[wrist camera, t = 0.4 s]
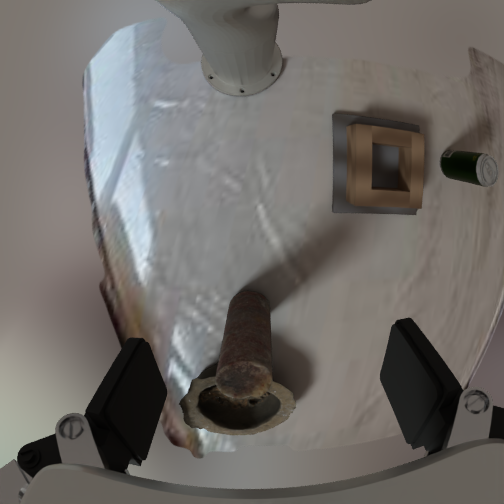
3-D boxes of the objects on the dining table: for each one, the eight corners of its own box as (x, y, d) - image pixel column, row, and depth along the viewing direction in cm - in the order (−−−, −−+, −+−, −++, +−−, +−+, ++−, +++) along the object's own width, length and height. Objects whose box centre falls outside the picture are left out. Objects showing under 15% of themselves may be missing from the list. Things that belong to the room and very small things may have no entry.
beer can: (434, 163, 39) (475, 169, 28) (447, 144, 38) (489, 147, 27) (448, 183, 41) (489, 195, 29) (461, 165, 39) (502, 172, 28)
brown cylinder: (231, 284, 48) (215, 360, 29) (272, 289, 48) (279, 367, 30) (227, 319, 51) (213, 400, 32) (266, 324, 51) (269, 406, 32)
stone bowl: (173, 349, 54) (164, 379, 45) (292, 342, 54) (301, 372, 46) (194, 418, 62) (191, 445, 53) (289, 412, 62) (295, 439, 54)
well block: (332, 114, 38) (342, 109, 33) (416, 126, 37) (433, 124, 32) (332, 211, 43) (341, 219, 38) (413, 213, 43) (429, 221, 38)
